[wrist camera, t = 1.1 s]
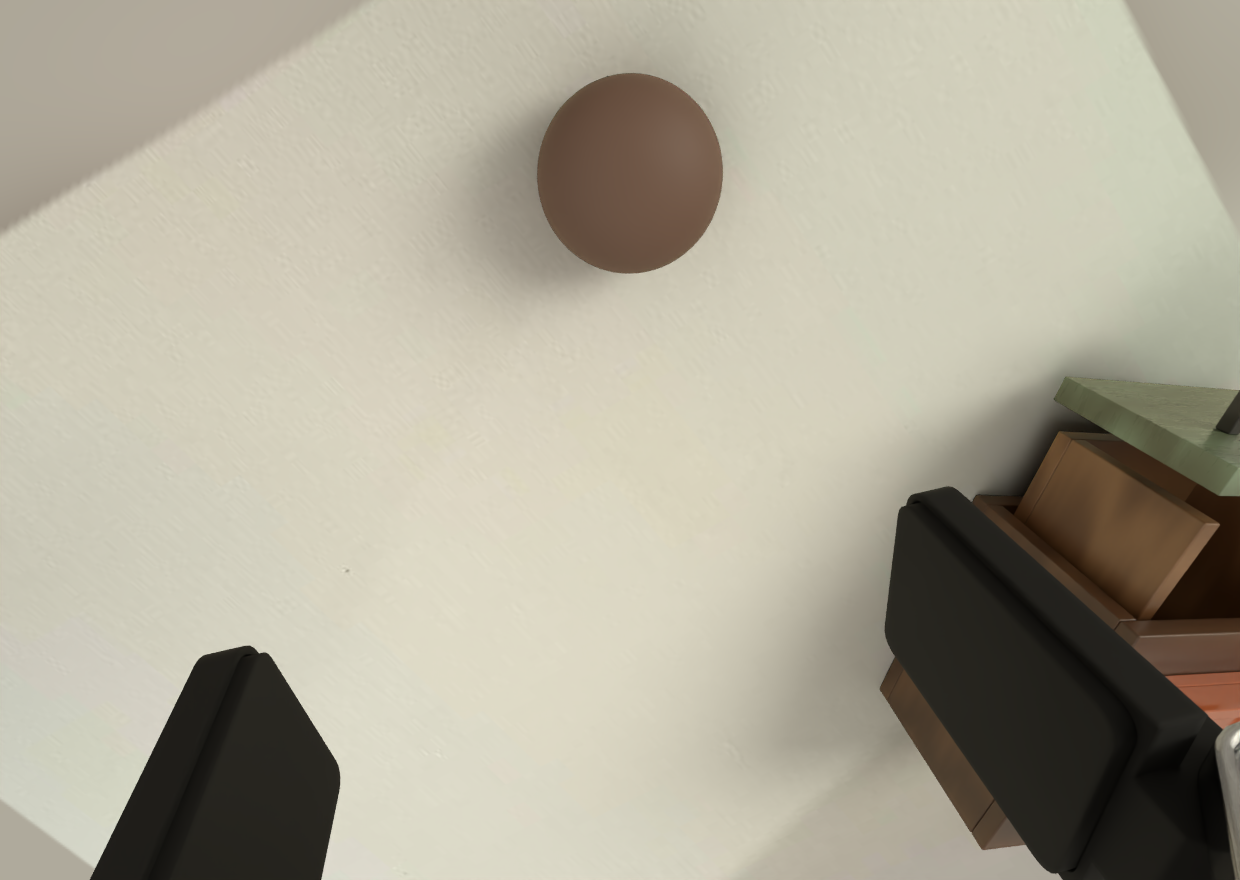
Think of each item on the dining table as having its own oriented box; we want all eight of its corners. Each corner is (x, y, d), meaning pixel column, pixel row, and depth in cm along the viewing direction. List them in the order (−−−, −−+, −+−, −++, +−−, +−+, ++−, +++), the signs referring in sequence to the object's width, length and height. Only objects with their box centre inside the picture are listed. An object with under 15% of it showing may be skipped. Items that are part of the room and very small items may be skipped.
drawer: (1112, 285, 27) (1317, 357, 20) (1310, 309, 30) (1549, 379, 23) (948, 599, 36) (1056, 723, 29) (1114, 596, 38) (1248, 708, 32)
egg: (505, 210, 22) (509, 236, 19) (581, 34, 20) (600, 27, 17) (651, 283, 24) (678, 318, 21) (733, 132, 22) (779, 143, 19)
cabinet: (975, 494, 33) (1139, 637, 25) (1166, 499, 36) (1370, 628, 28) (879, 689, 40) (981, 851, 32) (1045, 680, 43) (1179, 826, 35)
